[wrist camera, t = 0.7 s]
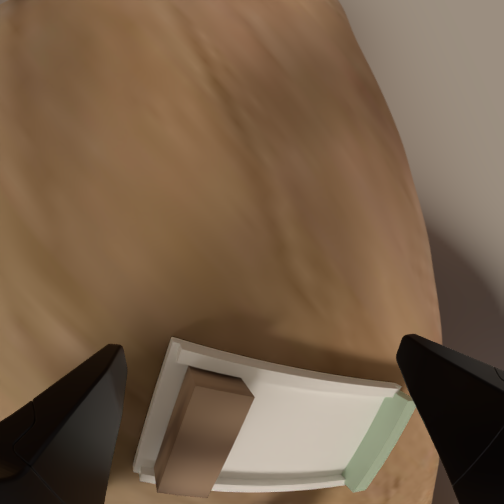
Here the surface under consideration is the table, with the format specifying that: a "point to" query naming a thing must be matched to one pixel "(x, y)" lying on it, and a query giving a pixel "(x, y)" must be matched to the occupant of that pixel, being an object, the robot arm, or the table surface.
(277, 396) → the track
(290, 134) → the table surface
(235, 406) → the block
